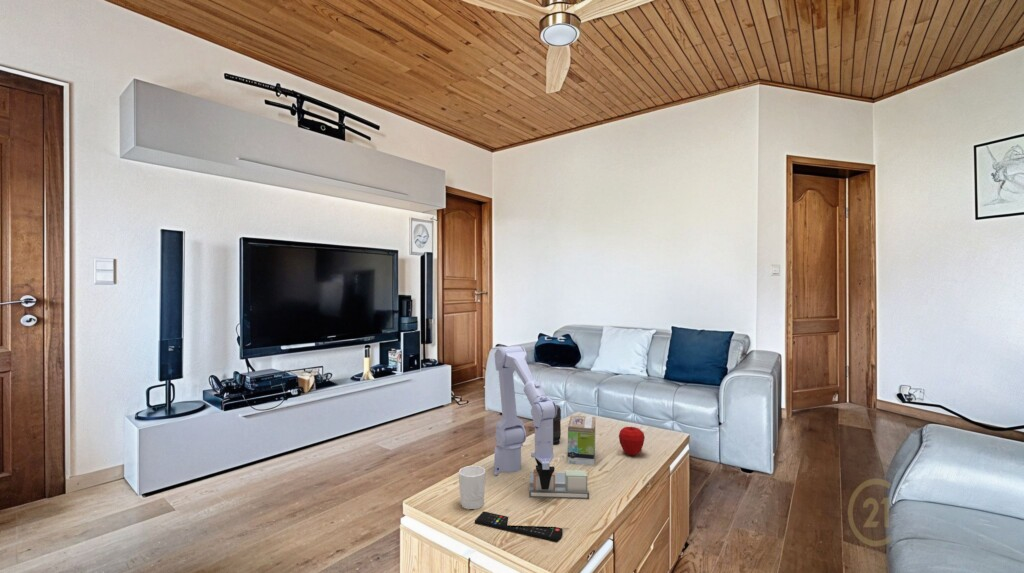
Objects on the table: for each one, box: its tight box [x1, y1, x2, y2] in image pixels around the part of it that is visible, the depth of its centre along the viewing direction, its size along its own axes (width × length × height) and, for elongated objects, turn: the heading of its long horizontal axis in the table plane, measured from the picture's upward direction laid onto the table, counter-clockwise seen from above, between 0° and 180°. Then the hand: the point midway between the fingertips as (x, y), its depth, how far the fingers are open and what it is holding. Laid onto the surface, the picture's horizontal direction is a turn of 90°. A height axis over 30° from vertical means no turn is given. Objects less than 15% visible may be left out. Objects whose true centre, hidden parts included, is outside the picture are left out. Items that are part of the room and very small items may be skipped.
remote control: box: [474, 510, 564, 543], centre depth 117 cm, size 5×24×1 cm, turn 67°
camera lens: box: [553, 404, 562, 446], centre depth 182 cm, size 8×8×15 cm
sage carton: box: [564, 469, 588, 492], centre depth 135 cm, size 6×4×6 cm, turn 86°
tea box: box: [566, 415, 596, 466], centre depth 164 cm, size 15×10×15 cm, turn 168°
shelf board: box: [528, 471, 590, 500], centre depth 140 cm, size 18×18×3 cm
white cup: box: [458, 465, 486, 510], centre depth 130 cm, size 8×8×10 cm
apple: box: [618, 426, 646, 457], centre depth 169 cm, size 10×10×11 cm
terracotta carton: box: [532, 468, 556, 491], centre depth 136 cm, size 6×4×6 cm, turn 90°
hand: (543, 483), depth 136 cm, fingers open, 7 cm apart
